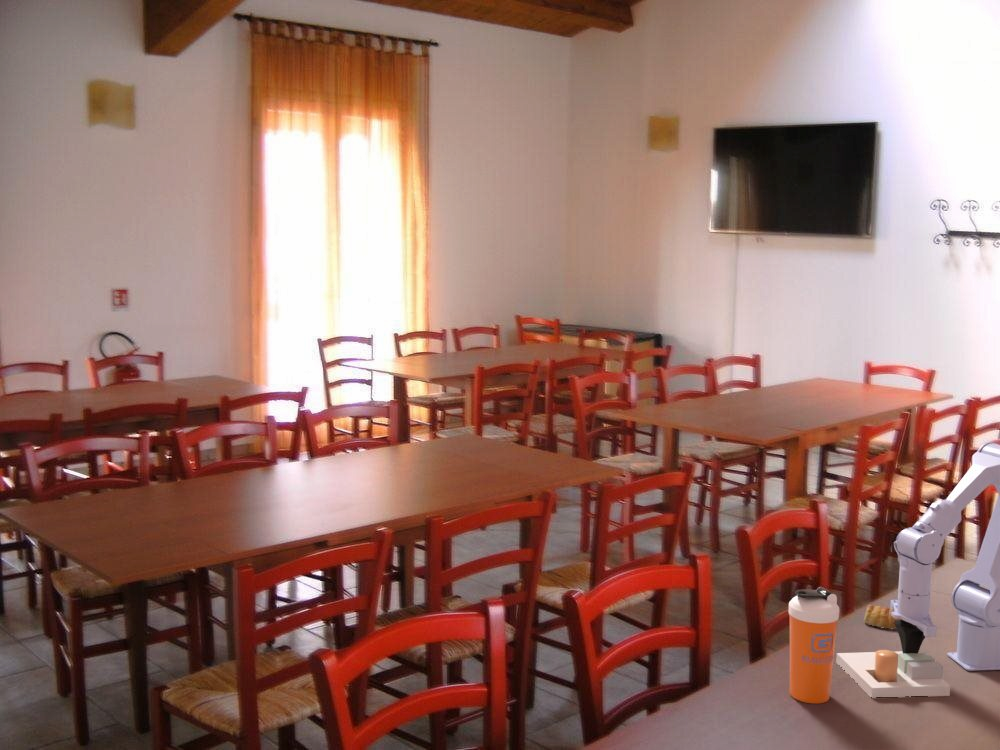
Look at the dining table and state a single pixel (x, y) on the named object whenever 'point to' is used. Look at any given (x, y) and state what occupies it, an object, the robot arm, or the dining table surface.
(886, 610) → the pastry
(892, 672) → the peg
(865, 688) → the housing
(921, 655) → the block
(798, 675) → the shaker bottle
